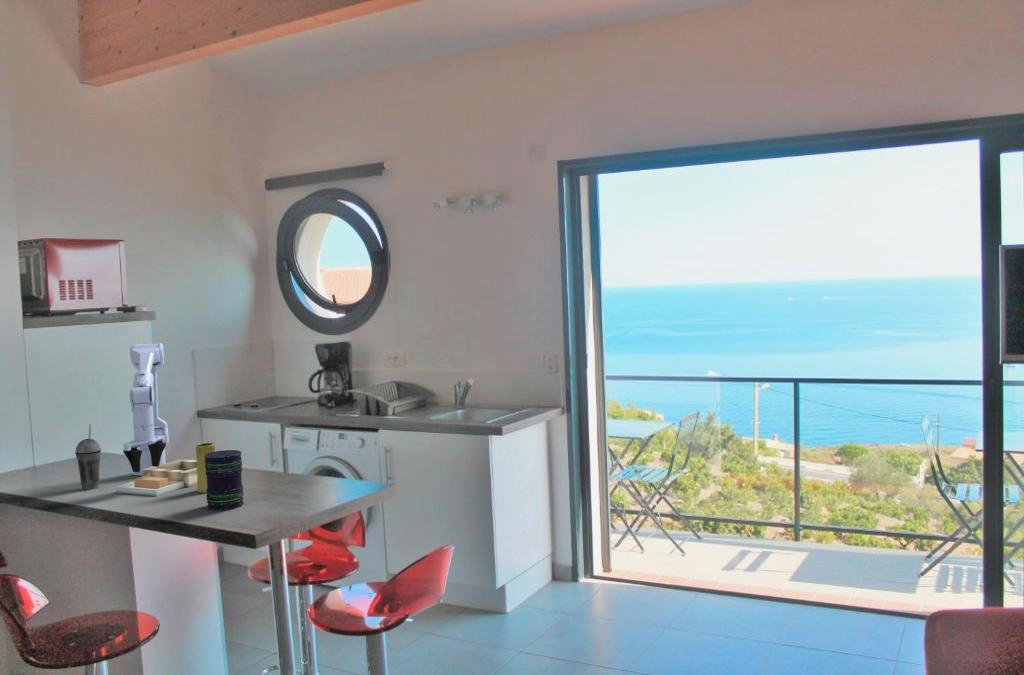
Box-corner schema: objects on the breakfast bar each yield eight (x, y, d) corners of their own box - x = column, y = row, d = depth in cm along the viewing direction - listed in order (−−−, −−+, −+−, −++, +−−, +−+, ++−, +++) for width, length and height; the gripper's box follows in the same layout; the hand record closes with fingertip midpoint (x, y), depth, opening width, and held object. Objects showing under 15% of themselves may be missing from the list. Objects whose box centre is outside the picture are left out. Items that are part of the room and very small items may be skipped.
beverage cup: (72, 489, 248) (68, 426, 247) (93, 484, 255) (90, 422, 254) (86, 491, 245) (83, 427, 244) (108, 486, 251) (104, 423, 250)
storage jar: (201, 506, 224) (198, 454, 223) (234, 499, 231) (231, 448, 230) (216, 513, 217) (213, 458, 216) (250, 505, 223) (247, 452, 223)
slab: (134, 488, 245) (134, 478, 245) (143, 485, 248) (143, 476, 248) (159, 490, 241) (159, 480, 241) (168, 487, 245) (168, 478, 244)
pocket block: (143, 483, 254) (142, 469, 254) (180, 472, 269) (180, 459, 268) (189, 487, 247) (188, 472, 247) (224, 475, 262) (224, 461, 262)
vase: (210, 493, 239) (208, 446, 238) (192, 492, 240) (190, 446, 239) (222, 488, 244) (219, 442, 244) (204, 487, 246) (202, 442, 245)
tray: (116, 492, 243) (116, 486, 243) (144, 484, 253) (144, 478, 253) (156, 496, 237) (156, 490, 237) (184, 487, 247) (183, 481, 247)
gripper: (134, 430, 236) (137, 475, 237) (171, 422, 250) (174, 464, 250) (116, 429, 239) (119, 473, 239) (154, 421, 252) (156, 463, 253)
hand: (146, 469), depth 245 cm, fingers open, 7 cm apart
